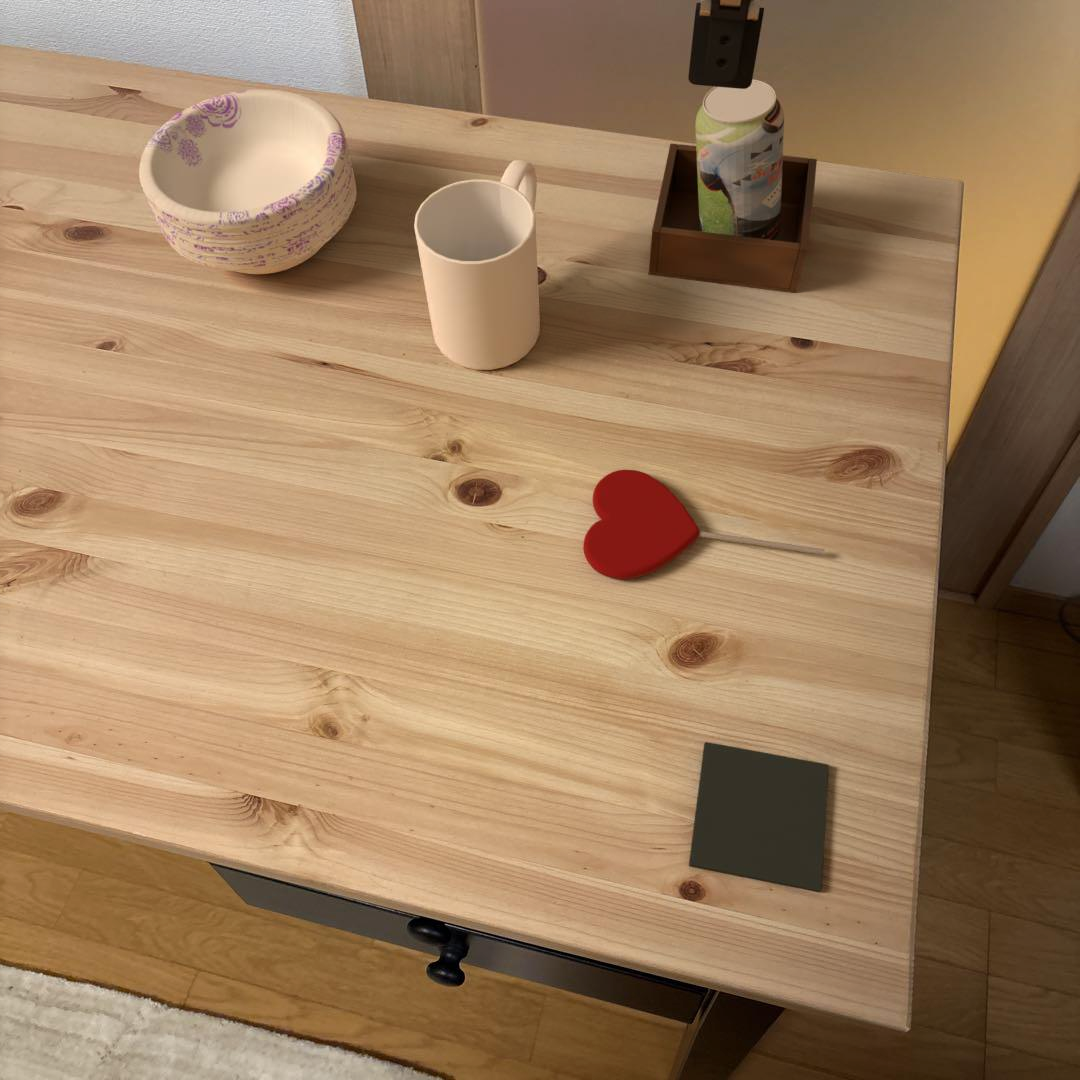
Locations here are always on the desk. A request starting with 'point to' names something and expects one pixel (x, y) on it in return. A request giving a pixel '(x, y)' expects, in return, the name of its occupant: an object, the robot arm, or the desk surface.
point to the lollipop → (645, 527)
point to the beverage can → (740, 161)
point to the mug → (482, 268)
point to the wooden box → (730, 256)
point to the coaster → (760, 817)
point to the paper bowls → (249, 180)
